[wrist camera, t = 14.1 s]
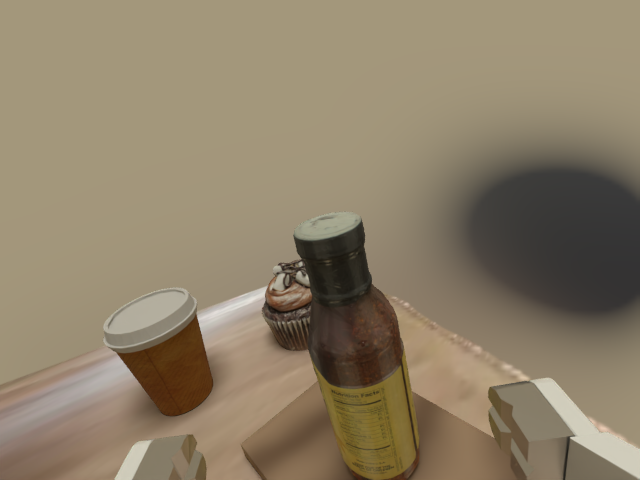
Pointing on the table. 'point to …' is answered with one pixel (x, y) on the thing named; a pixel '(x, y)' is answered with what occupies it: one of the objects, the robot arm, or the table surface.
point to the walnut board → (334, 474)
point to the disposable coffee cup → (163, 348)
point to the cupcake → (289, 305)
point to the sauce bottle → (357, 351)
